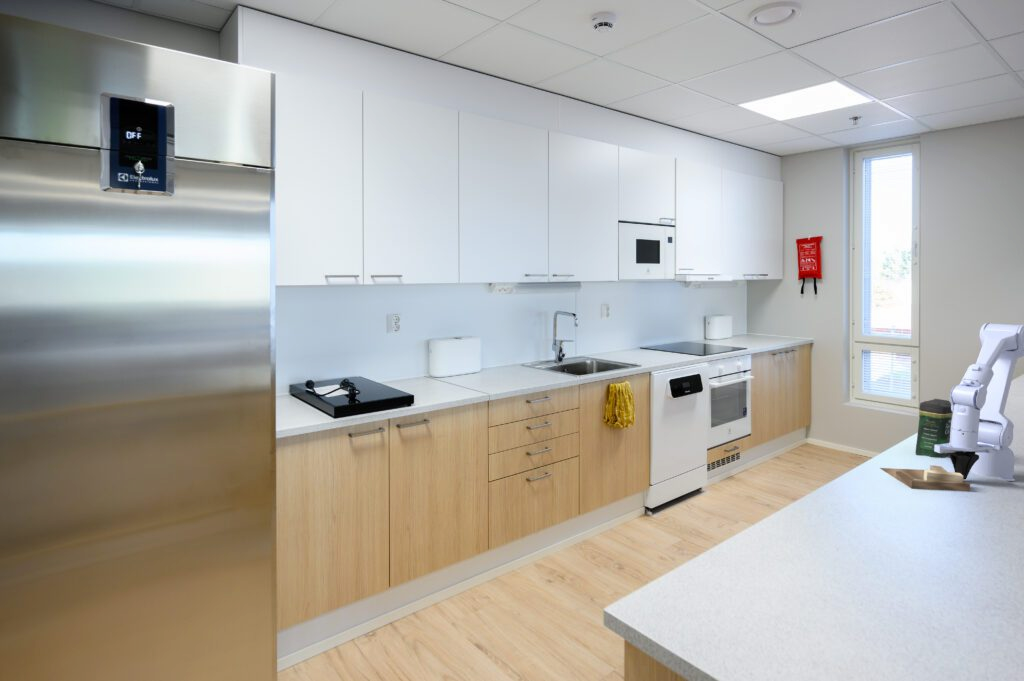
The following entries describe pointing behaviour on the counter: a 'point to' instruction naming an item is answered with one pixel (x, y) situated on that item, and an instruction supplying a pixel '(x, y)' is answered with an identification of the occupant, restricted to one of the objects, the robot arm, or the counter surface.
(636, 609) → the counter surface
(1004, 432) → the robot arm
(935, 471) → the t block
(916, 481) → the board
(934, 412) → the coffee jar
